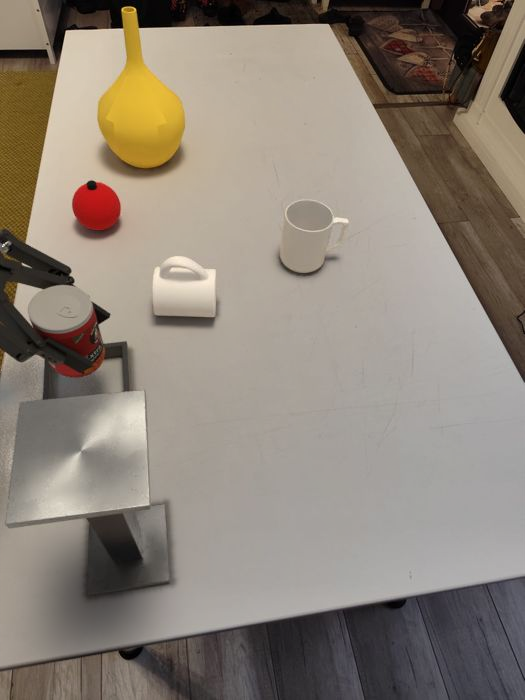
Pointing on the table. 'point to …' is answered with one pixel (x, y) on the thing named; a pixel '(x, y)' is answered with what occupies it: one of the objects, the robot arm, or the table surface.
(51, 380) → the grey square frame
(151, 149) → the vase
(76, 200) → the ornament
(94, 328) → the canned food
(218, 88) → the table surface
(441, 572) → the table surface
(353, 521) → the table surface
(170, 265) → the mug
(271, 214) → the table surface
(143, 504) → the steel stand
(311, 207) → the mug
